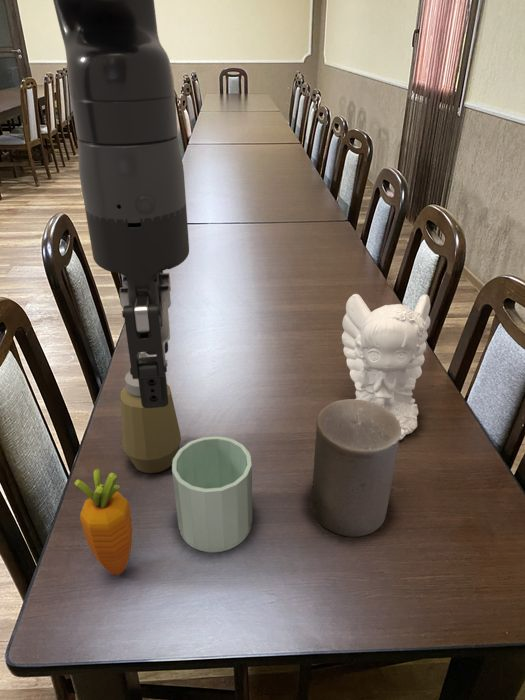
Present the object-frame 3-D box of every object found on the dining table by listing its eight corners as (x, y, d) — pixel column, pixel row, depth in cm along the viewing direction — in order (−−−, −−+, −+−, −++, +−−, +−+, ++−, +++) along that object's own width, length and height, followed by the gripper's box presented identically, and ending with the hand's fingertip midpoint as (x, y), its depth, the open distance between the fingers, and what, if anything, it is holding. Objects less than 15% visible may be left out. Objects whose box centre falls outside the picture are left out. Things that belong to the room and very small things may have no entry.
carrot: (86, 584, 59) (59, 486, 51) (112, 549, 63) (92, 453, 55) (124, 599, 58) (103, 501, 50) (149, 562, 62) (133, 466, 54)
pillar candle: (298, 519, 67) (303, 426, 59) (327, 470, 74) (335, 381, 67) (374, 549, 63) (390, 453, 55) (396, 494, 71) (413, 403, 63)
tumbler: (196, 564, 61) (190, 503, 56) (168, 511, 68) (160, 451, 63) (264, 533, 65) (265, 473, 60) (232, 485, 72) (229, 427, 67)
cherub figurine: (331, 436, 81) (341, 318, 70) (336, 388, 91) (346, 280, 81) (421, 447, 79) (445, 327, 68) (415, 397, 89) (436, 286, 79)
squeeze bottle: (179, 480, 73) (168, 369, 63) (119, 480, 73) (99, 369, 63) (186, 440, 80) (176, 335, 70) (131, 440, 80) (114, 335, 70)
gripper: (95, 178, 46) (120, 341, 55) (70, 233, 34) (106, 431, 43) (183, 175, 47) (194, 336, 56) (188, 228, 35) (202, 422, 43)
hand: (156, 377), depth 49 cm, fingers open, 8 cm apart
